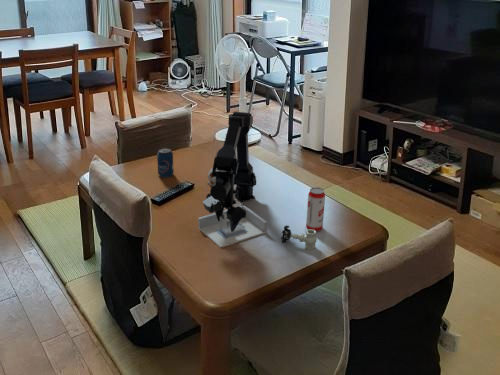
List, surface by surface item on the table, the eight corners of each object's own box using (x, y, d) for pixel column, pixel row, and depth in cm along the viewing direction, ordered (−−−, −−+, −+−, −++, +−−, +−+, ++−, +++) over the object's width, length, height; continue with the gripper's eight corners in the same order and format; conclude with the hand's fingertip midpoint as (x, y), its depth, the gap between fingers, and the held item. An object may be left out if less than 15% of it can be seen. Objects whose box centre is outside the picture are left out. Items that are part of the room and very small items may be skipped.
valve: (318, 244, 207) (286, 237, 211) (319, 228, 204) (287, 221, 208) (313, 253, 202) (280, 246, 206) (314, 237, 199) (281, 230, 203)
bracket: (226, 236, 210) (226, 221, 207) (219, 230, 213) (219, 216, 211) (245, 230, 214) (245, 216, 211) (237, 224, 217) (238, 210, 215)
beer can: (324, 226, 219) (327, 188, 212) (320, 234, 214) (323, 195, 207) (308, 223, 221) (310, 185, 214) (304, 231, 215) (306, 192, 208)
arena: (243, 215, 226) (243, 204, 224) (266, 232, 214) (267, 221, 212) (198, 228, 216) (198, 217, 214) (220, 247, 204) (220, 236, 202)
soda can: (156, 177, 256) (154, 152, 251) (160, 171, 262) (159, 146, 257) (171, 178, 255) (170, 153, 250) (175, 172, 261) (174, 147, 256)
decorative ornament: (206, 186, 249) (205, 154, 242) (211, 179, 255) (210, 147, 249) (223, 188, 247) (223, 156, 241) (228, 181, 254) (228, 149, 247)
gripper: (193, 183, 207) (194, 221, 214) (219, 203, 193) (219, 243, 200) (219, 176, 212) (220, 213, 219) (247, 195, 199) (246, 234, 205)
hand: (225, 226), depth 211 cm, fingers open, 9 cm apart
